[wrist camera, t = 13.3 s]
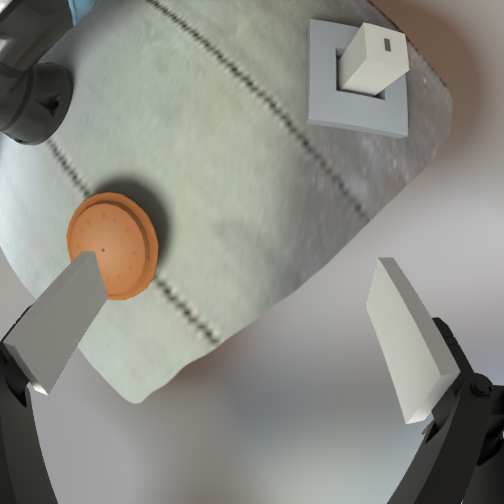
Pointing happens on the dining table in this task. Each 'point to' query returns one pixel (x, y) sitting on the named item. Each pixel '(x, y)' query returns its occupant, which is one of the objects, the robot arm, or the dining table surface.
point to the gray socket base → (342, 103)
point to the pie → (116, 242)
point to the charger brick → (372, 60)
